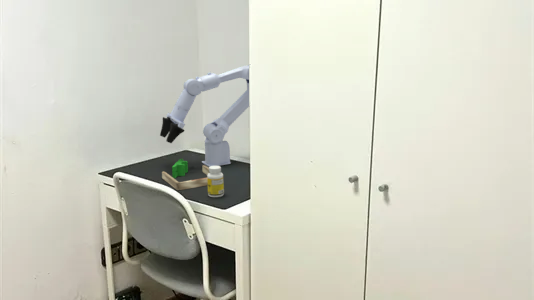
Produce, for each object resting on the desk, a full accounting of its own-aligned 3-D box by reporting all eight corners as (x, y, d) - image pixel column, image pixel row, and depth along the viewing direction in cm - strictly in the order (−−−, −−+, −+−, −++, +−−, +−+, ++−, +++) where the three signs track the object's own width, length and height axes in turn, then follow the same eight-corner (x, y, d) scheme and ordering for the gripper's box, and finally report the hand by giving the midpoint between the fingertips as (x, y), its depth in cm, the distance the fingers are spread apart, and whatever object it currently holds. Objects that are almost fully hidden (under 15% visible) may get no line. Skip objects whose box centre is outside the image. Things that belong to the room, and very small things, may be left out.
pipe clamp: (182, 179, 212) (181, 167, 211) (172, 178, 213) (171, 166, 212) (190, 170, 223) (189, 158, 222) (180, 169, 224) (180, 158, 222)
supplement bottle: (207, 192, 196) (206, 165, 194) (223, 192, 197) (223, 164, 194) (207, 198, 191) (206, 169, 189) (224, 197, 192) (223, 169, 189)
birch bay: (205, 171, 220) (204, 164, 220) (222, 182, 207) (222, 175, 206) (162, 178, 212) (161, 171, 212) (177, 190, 199) (177, 183, 198)
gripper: (166, 99, 225) (150, 130, 225) (179, 108, 213) (162, 140, 213) (181, 106, 229) (166, 136, 229) (195, 116, 216) (178, 147, 217)
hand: (165, 139), depth 222 cm, fingers open, 7 cm apart
